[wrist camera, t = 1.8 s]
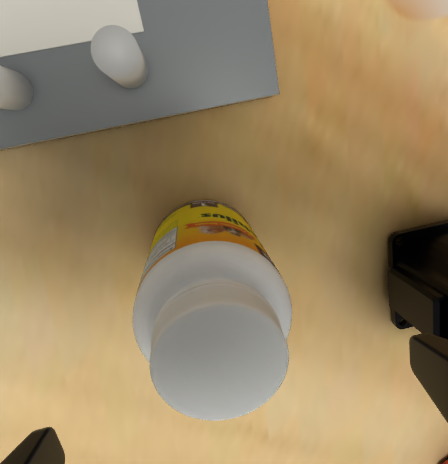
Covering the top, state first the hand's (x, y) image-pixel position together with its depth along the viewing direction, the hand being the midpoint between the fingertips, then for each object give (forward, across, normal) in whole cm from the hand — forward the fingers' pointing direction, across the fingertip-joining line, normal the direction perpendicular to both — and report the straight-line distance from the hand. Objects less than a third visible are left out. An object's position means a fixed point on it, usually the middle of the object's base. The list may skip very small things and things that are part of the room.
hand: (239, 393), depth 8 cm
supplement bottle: (+12, 0, 0) cm, 12 cm away
